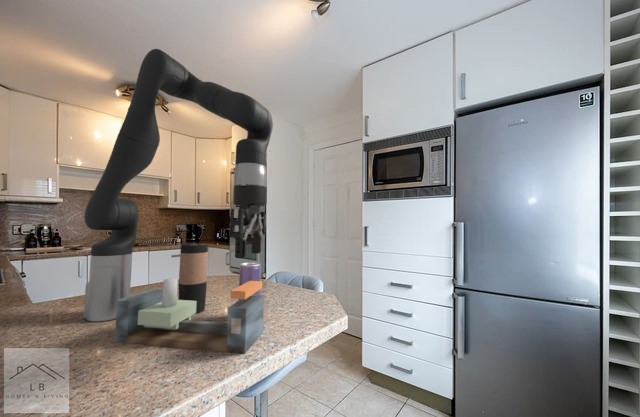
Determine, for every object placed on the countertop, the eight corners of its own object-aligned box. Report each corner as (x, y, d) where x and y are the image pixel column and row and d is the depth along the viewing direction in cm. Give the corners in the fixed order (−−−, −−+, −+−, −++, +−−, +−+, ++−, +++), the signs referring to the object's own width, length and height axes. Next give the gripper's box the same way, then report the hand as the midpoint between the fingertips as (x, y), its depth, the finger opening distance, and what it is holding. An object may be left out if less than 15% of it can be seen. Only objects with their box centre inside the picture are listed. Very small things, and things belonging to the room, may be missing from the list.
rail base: (113, 342, 56) (115, 300, 57) (150, 324, 66) (152, 288, 67) (244, 354, 52) (245, 309, 52) (262, 332, 62) (263, 295, 63)
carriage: (137, 330, 56) (139, 283, 57) (167, 315, 65) (169, 275, 66) (169, 333, 55) (172, 285, 56) (195, 317, 64) (197, 276, 65)
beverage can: (254, 322, 68) (255, 266, 69) (233, 320, 70) (235, 265, 71) (263, 314, 74) (264, 262, 75) (244, 313, 76) (246, 261, 76)
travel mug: (176, 317, 72) (180, 245, 73) (177, 308, 78) (180, 243, 80) (206, 313, 75) (209, 244, 76) (205, 305, 82) (207, 242, 83)
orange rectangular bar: (230, 298, 54) (231, 290, 54) (249, 287, 63) (249, 280, 63) (245, 299, 53) (245, 291, 53) (262, 287, 63) (262, 281, 63)
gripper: (248, 189, 67) (246, 251, 66) (219, 180, 53) (216, 259, 52) (275, 189, 66) (274, 252, 65) (253, 179, 52) (251, 260, 51)
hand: (248, 255), depth 59 cm, fingers open, 8 cm apart
